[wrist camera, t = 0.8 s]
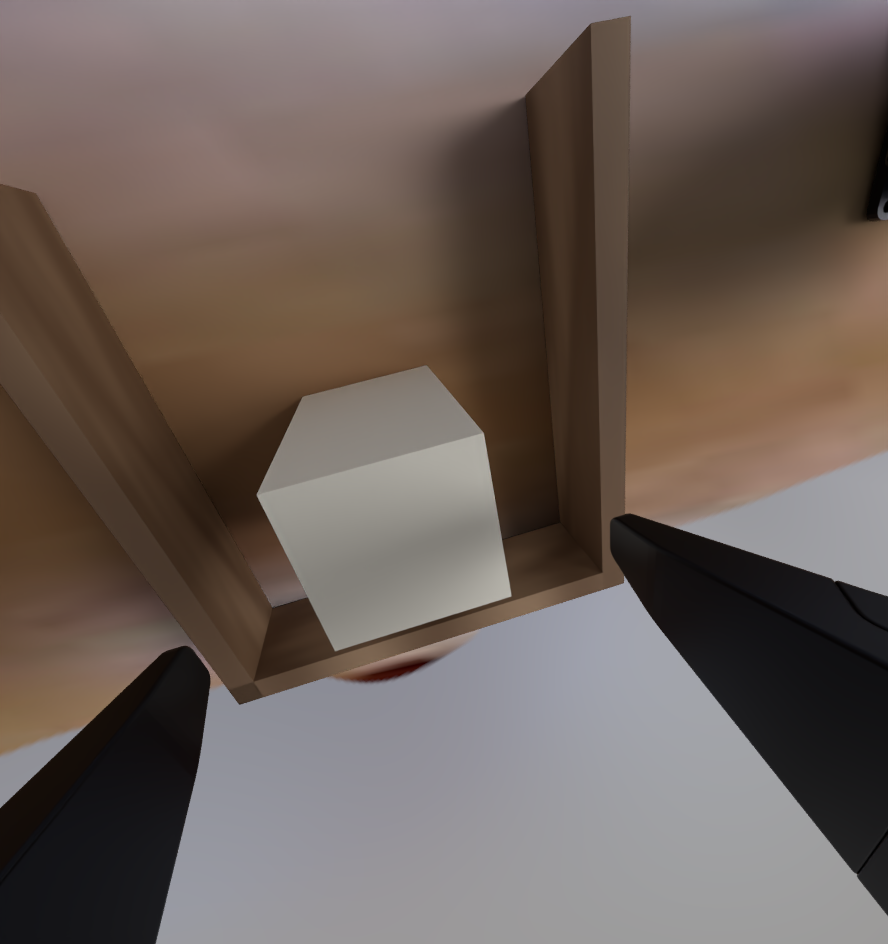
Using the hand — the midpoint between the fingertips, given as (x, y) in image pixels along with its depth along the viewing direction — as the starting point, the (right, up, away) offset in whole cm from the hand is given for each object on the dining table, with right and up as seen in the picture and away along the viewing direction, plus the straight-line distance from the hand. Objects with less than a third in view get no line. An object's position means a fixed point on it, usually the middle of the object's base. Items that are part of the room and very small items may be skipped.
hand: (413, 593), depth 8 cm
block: (-2, +4, +8) cm, 10 cm away
